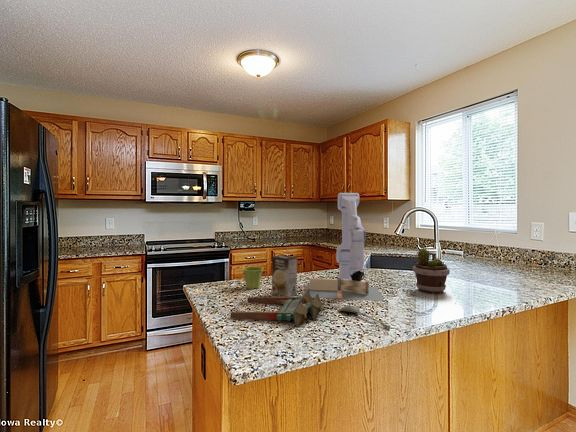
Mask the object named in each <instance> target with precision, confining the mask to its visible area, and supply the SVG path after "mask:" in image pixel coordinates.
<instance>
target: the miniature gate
mask: <svg viewBox="0 0 576 432" xmlns="http://www.w3.org/2000/svg"><path fill="white" fill-rule="evenodd" d="M303 294H304V293H303ZM302 296H303V295H302ZM302 296H300V295H299V296H294V295H292V296H289V297H286V296H261V297H260V296H254V297H252V296H250V297H247V303H249V304H264V305H272V304H273V305H274V304H275V305H279V304H282V307H281V308H279V309H278V310H276V311H231V312H230V313H229V314H230V315H229V316H230V319H239V320H250V321H251V320H252V321H253V320H257V321H261V320H263V321H264V320H265V321H266V320H267V321H271V320H272V321H273V320H274V321H282V320H283V321H291V320H293V322H294V324H295V328H300V325H301V324H302V322H303V321H304V320H305V319H308V313H310V315H311V319H312V321H313V322H316V319H317V317H318V315H319V314H320V313H321V312H324V309H323V306H325V305H326V303H325V302H321V298H319V296H318V294H317V295H316V297H315V298H312V297H311V296H310V293H309V290H307V292H306V293H305V294H304V296H303V297H302Z"/></svg>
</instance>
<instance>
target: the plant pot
mask: <svg viewBox="0 0 576 432" xmlns="http://www.w3.org/2000/svg"><path fill="white" fill-rule="evenodd" d="M263 270H264V267H261V266H248V267H246V266H245V267H243V268H242V272H243V274H244V281H245V288H247V289H248V290H249V289H250V290H254V289H259V288H260V287H261V286H260V285H261V279H262V273H263Z"/></svg>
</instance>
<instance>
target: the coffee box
mask: <svg viewBox="0 0 576 432" xmlns="http://www.w3.org/2000/svg"><path fill="white" fill-rule="evenodd" d="M271 266H272V267H271V294H274V295H277V296H278V295H279V296H281V297H292V296H294V295H297V294H298V292H297V290H298V289H297V286H298V283H297V281H298V257H296V256H292V255H283V254H279V255H274V256H272V258H271Z"/></svg>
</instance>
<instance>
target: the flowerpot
mask: <svg viewBox="0 0 576 432" xmlns="http://www.w3.org/2000/svg"><path fill="white" fill-rule="evenodd" d="M415 257H417V261H418V262H416V263H415V264H414V266H412V271H413V273H415V274H414V275H415V279H416V282H415V286H416V288H417V289H418V291H420V292H422V293H425V294H435V295H436V294H438V295H439V294H443V293H444V291H446V288H447V285H446V282H447V277H448V275H450V273H451V270H450V268H448V265H447V264H446V263H443V260H442V259H440V258H432V259H431V251H430V250H428V249H427V248H426V247H423V246H420V249H419V250H417V253H416V256H415Z"/></svg>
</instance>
